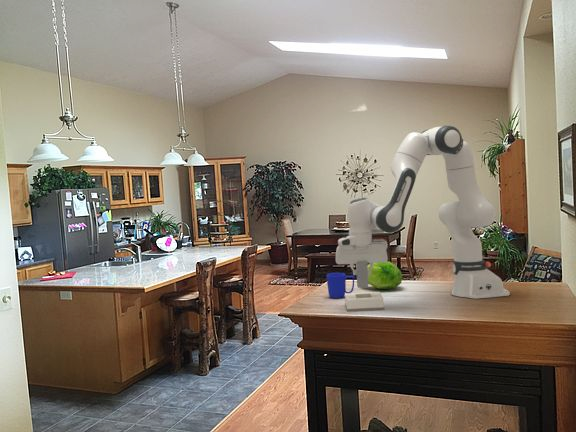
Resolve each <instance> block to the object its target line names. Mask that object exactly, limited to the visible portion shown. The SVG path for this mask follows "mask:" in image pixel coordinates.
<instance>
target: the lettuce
mask: <svg viewBox="0 0 576 432" xmlns="http://www.w3.org/2000/svg"><path fill="white" fill-rule="evenodd" d="M373 264H374V266H373V268H372V270H371V275H368V286H369V285H370V286H371V287H374V288H376V289H379V290H391V289H394V288H397V287H398V286H399V285H401V284H402V282H403V274H402V271H401V270H400V269H399V267H397V264H394V263H393V262H391V261H388V260H387V262H384V263H373ZM367 267H368V270H369V268H370V265H369V264H367Z"/></svg>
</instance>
